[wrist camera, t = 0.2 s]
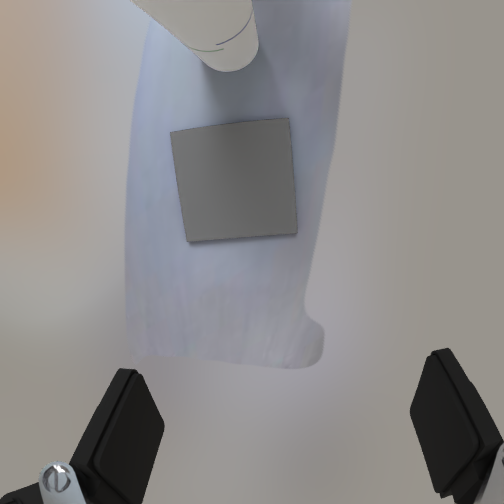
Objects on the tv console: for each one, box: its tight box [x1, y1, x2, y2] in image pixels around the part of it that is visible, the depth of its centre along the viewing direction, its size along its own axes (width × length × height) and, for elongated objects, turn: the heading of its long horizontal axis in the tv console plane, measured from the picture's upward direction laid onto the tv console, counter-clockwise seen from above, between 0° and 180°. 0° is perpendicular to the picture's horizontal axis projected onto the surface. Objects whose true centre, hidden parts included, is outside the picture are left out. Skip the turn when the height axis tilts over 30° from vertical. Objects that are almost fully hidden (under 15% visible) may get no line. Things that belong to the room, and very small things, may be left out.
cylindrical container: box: [130, 0, 259, 72], centre depth 20 cm, size 7×7×25 cm
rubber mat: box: [170, 118, 297, 242], centre depth 37 cm, size 14×14×1 cm
